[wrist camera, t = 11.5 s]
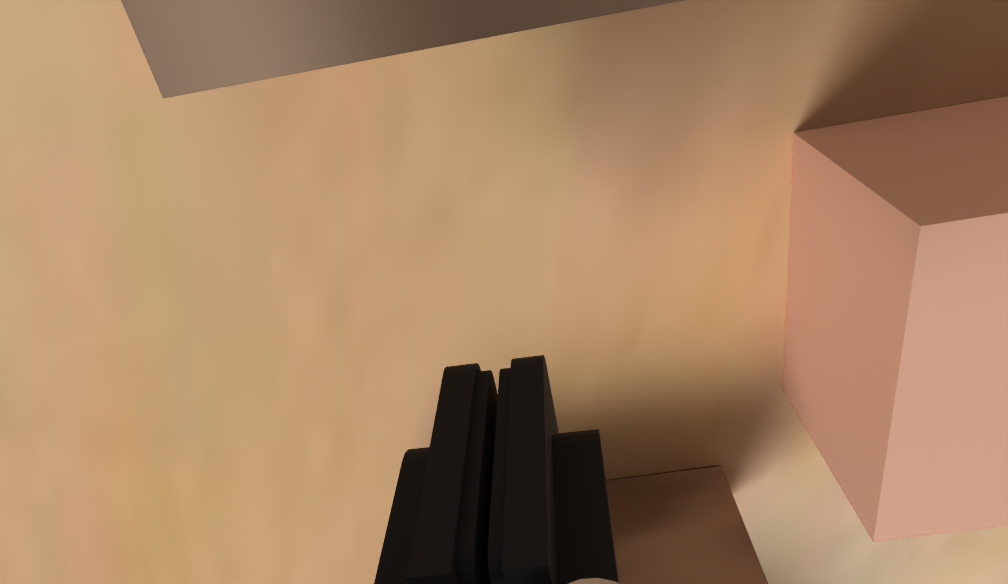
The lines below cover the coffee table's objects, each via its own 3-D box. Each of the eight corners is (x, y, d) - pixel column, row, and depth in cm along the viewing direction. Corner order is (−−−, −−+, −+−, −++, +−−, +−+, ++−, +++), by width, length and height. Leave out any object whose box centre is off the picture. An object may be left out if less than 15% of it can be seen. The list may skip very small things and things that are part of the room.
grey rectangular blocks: (710, -132, 12) (800, -154, 8) (721, 502, 19) (769, 630, 16) (224, -34, 12) (115, -13, 9) (424, 539, 20) (408, 669, 17)
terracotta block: (1138, 71, 13) (1441, 144, 9) (1057, 347, 17) (1250, 496, 13) (790, 130, 14) (920, 225, 10) (780, 386, 17) (873, 542, 13)
